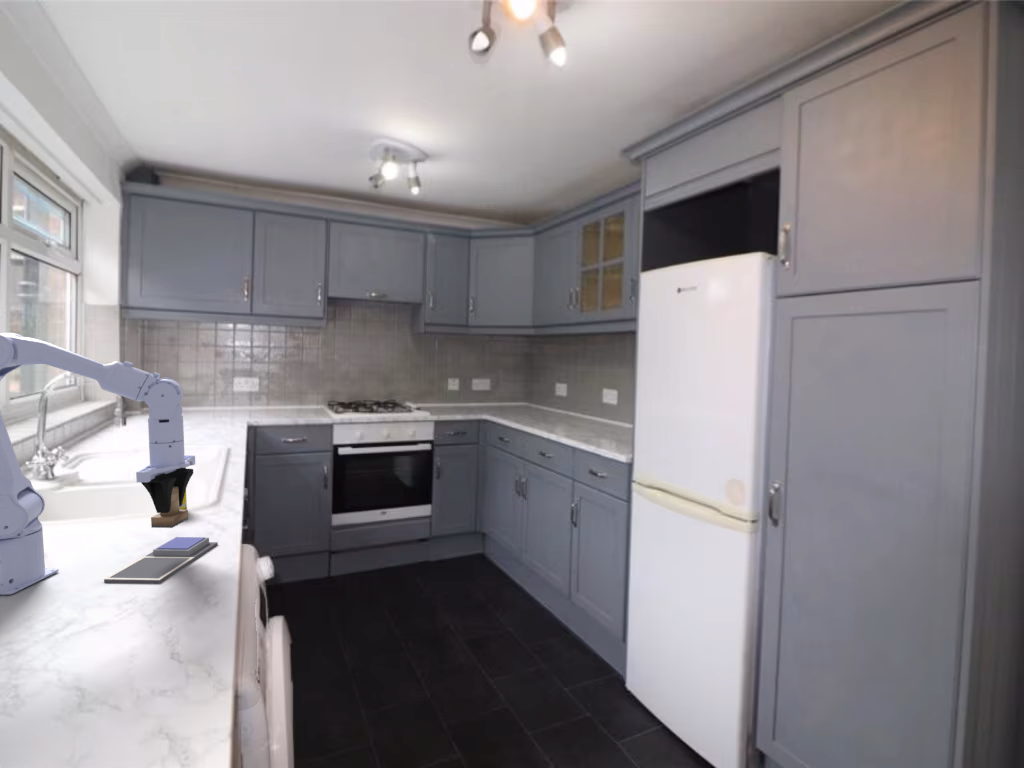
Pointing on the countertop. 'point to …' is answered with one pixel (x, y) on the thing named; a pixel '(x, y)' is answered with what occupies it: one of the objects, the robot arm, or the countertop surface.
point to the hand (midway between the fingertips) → (169, 509)
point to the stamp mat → (163, 561)
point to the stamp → (170, 513)
